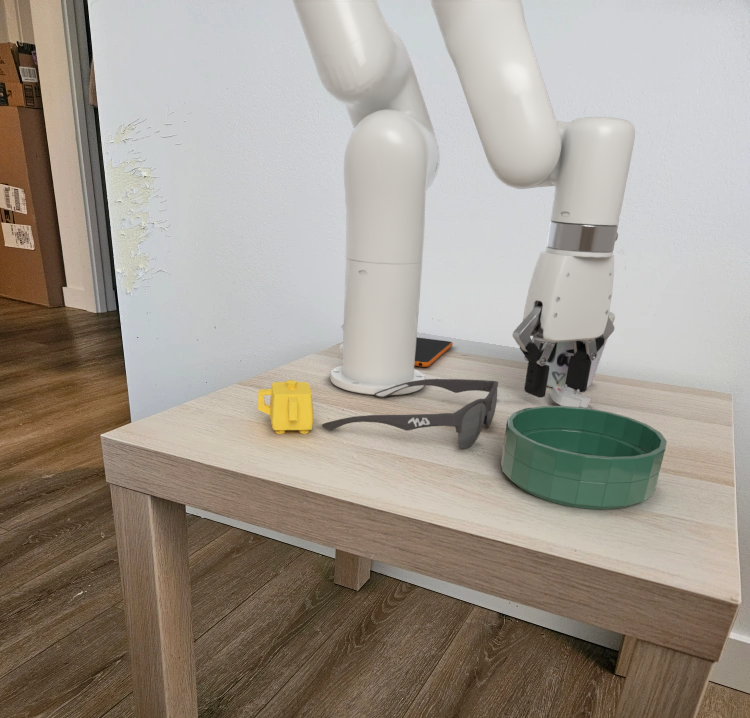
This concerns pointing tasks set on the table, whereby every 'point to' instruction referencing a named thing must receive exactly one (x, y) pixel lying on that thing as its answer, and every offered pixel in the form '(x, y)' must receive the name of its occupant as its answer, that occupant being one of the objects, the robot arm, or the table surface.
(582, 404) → the game controller
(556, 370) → the mug
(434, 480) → the table surface
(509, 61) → the robot arm
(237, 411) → the table surface
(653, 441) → the bowl
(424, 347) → the smartphone
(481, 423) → the sunglasses
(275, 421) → the teapot
